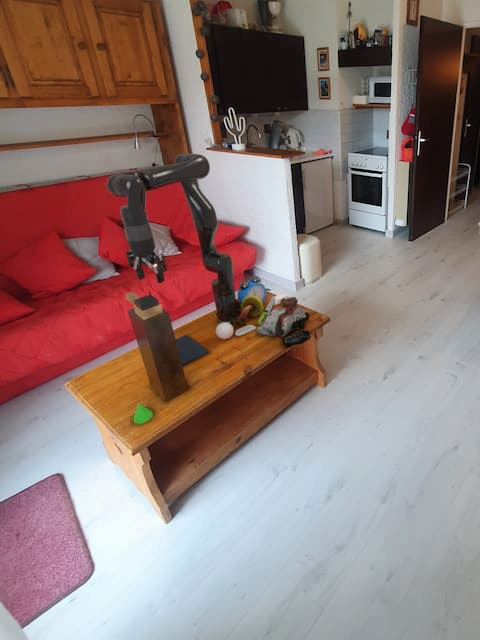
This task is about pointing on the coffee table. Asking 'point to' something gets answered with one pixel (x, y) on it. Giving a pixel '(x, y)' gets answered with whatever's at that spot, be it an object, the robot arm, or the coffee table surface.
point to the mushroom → (249, 309)
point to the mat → (189, 349)
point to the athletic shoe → (291, 320)
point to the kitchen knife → (266, 311)
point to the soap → (245, 330)
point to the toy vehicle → (280, 298)
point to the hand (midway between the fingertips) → (151, 280)
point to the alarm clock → (251, 289)
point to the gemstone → (142, 414)
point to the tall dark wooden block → (159, 354)
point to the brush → (144, 305)
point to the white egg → (224, 330)
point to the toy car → (296, 338)
